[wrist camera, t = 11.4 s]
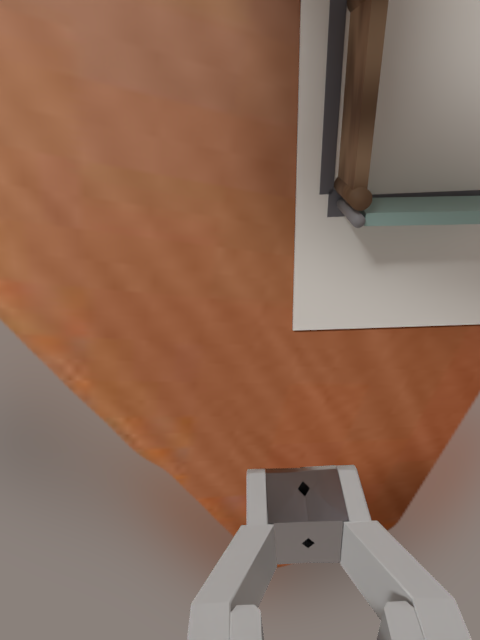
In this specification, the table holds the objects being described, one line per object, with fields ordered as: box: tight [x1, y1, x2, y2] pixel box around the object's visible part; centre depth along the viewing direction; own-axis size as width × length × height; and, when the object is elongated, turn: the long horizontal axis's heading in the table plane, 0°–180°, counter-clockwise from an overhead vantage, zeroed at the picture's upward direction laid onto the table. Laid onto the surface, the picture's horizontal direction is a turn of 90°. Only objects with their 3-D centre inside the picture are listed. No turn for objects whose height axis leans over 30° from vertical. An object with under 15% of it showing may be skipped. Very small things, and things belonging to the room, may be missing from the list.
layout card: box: [292, 0, 480, 331], centre depth 34 cm, size 28×20×1 cm
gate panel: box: [337, 196, 480, 228], centre depth 32 cm, size 13×1×6 cm, turn 91°
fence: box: [334, 0, 389, 211], centre depth 28 cm, size 14×2×6 cm, turn 3°
